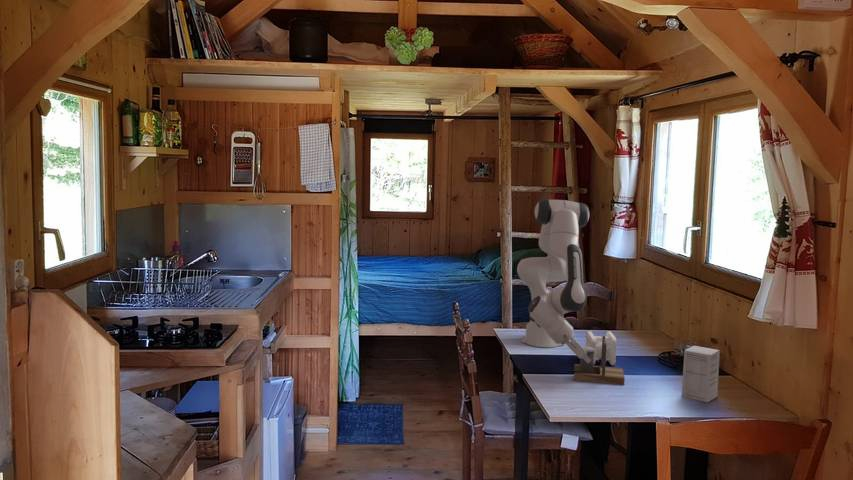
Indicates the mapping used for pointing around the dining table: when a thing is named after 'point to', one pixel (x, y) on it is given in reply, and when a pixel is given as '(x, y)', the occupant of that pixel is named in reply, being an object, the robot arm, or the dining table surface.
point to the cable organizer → (597, 344)
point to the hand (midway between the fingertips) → (586, 358)
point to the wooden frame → (601, 371)
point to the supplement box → (700, 373)
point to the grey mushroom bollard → (584, 365)
